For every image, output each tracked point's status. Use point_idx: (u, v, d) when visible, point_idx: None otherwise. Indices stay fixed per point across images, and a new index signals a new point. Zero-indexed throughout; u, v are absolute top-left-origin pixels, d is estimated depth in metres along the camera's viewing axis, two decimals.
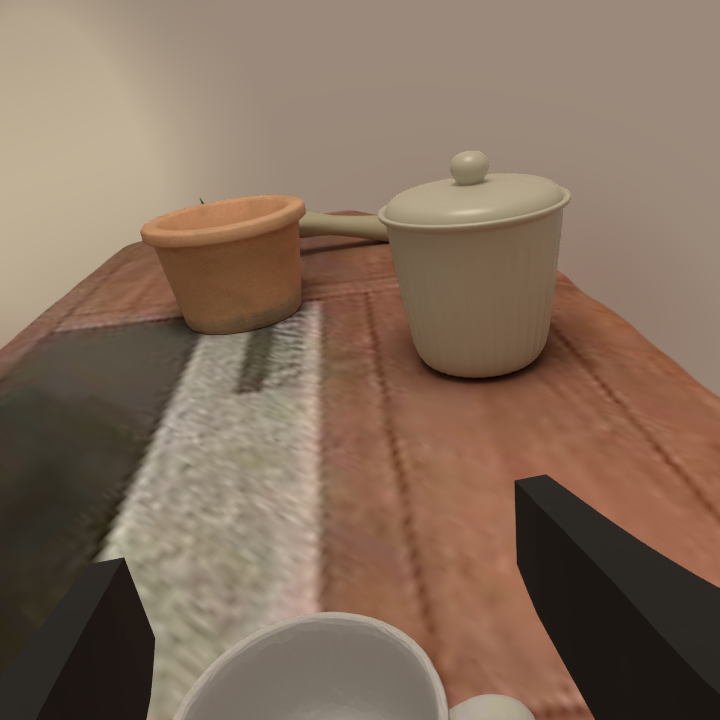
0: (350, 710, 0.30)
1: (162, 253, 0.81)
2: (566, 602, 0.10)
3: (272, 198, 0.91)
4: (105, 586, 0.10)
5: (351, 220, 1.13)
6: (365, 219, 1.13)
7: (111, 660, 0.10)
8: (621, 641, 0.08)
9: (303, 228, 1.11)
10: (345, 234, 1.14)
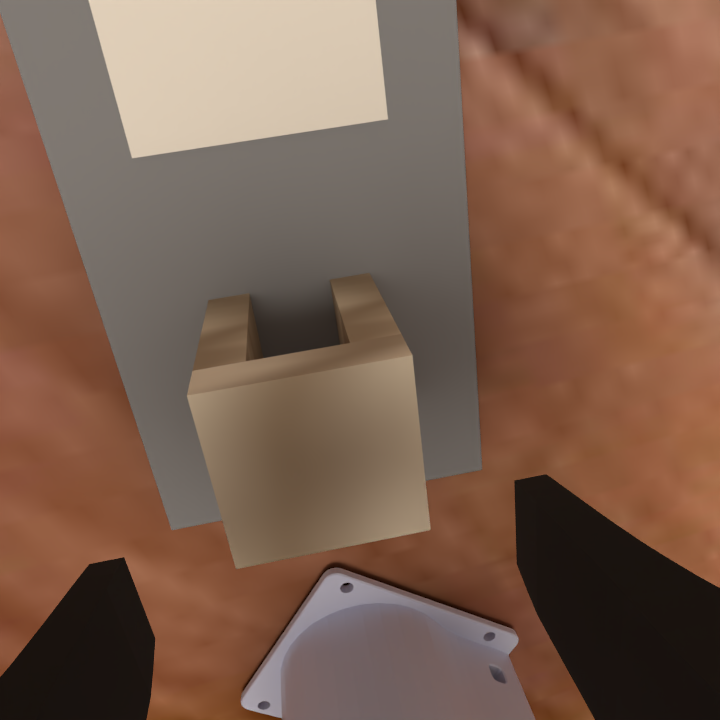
0: None
1: None
2: (566, 602, 0.10)
3: None
4: (105, 586, 0.10)
5: None
6: None
7: (111, 660, 0.10)
8: (621, 641, 0.08)
9: None
10: None
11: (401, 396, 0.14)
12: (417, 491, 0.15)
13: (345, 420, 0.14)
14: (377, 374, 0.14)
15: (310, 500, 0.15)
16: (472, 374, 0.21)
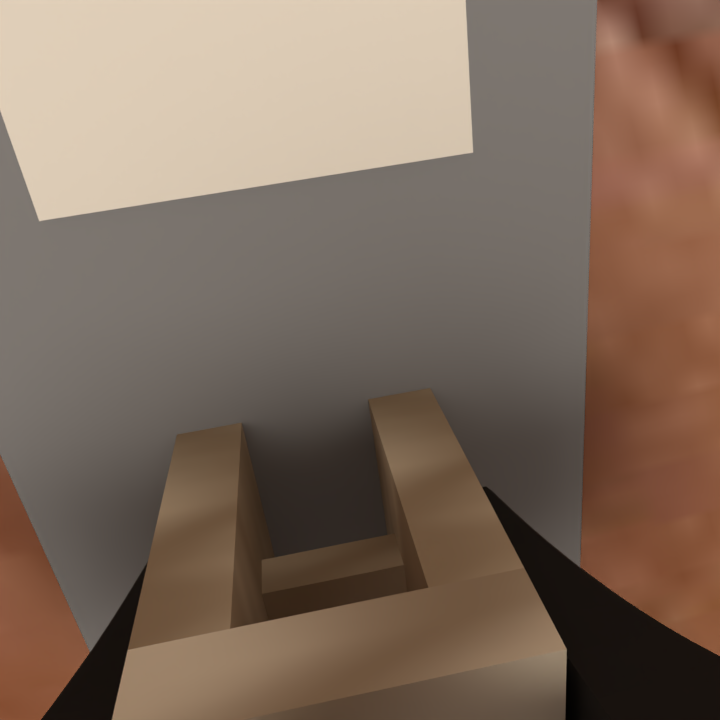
0: None
1: None
2: None
3: None
4: None
5: None
6: None
7: None
8: None
9: None
10: None
11: (536, 715, 0.07)
12: None
13: None
14: (493, 685, 0.07)
15: None
16: (575, 523, 0.14)
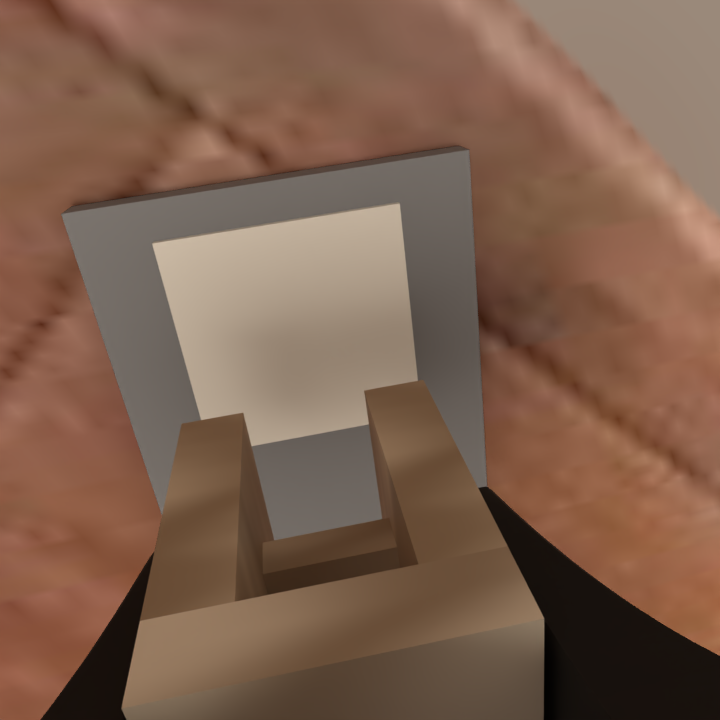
0: None
1: None
2: None
3: None
4: None
5: None
6: None
7: None
8: None
9: None
10: None
11: (517, 680, 0.08)
12: None
13: None
14: (477, 652, 0.07)
15: None
16: None
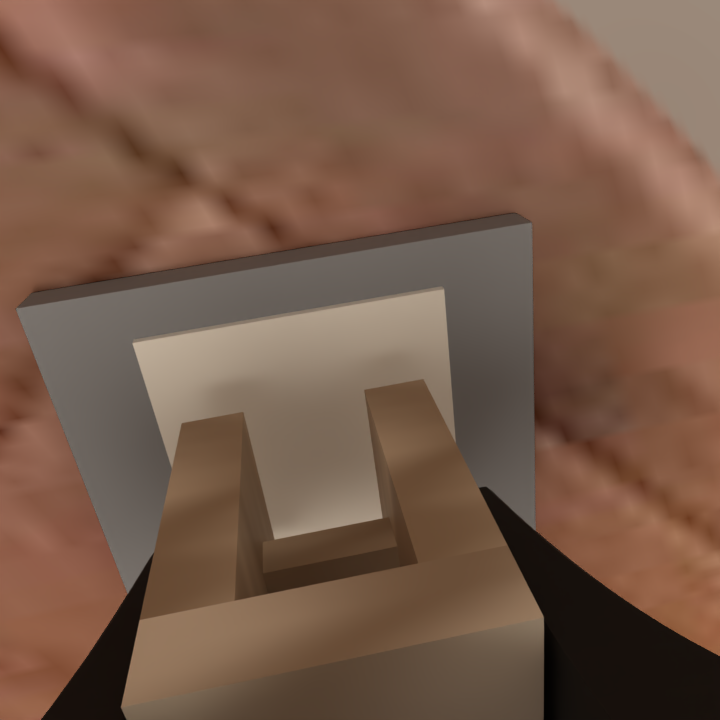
0: None
1: None
2: None
3: None
4: None
5: None
6: None
7: None
8: None
9: None
10: None
11: (517, 679, 0.08)
12: None
13: (414, 719, 0.08)
14: (477, 651, 0.07)
15: None
16: None
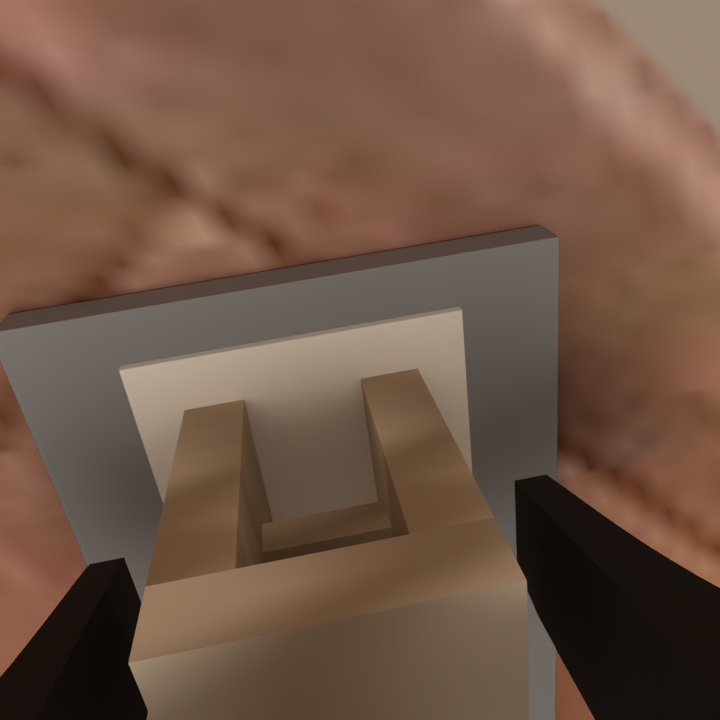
0: None
1: None
2: (565, 602, 0.10)
3: None
4: (105, 586, 0.10)
5: None
6: None
7: (111, 660, 0.10)
8: (621, 641, 0.08)
9: None
10: None
11: (501, 642, 0.08)
12: None
13: (405, 680, 0.08)
14: (464, 613, 0.08)
15: None
16: None
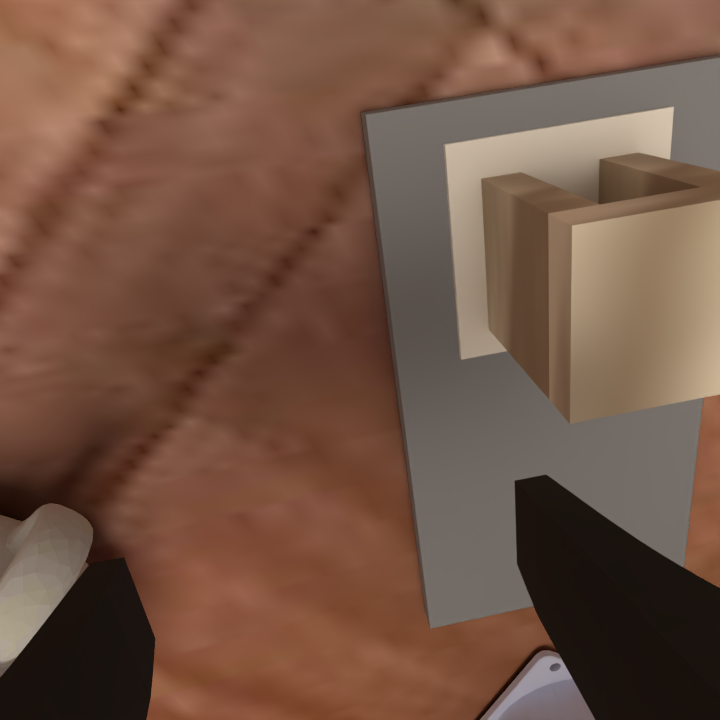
0: None
1: None
2: (565, 602, 0.10)
3: None
4: (105, 586, 0.10)
5: None
6: None
7: (111, 660, 0.10)
8: (621, 641, 0.08)
9: None
10: None
11: None
12: None
13: (711, 259, 0.14)
14: None
15: (656, 349, 0.15)
16: (688, 501, 0.25)
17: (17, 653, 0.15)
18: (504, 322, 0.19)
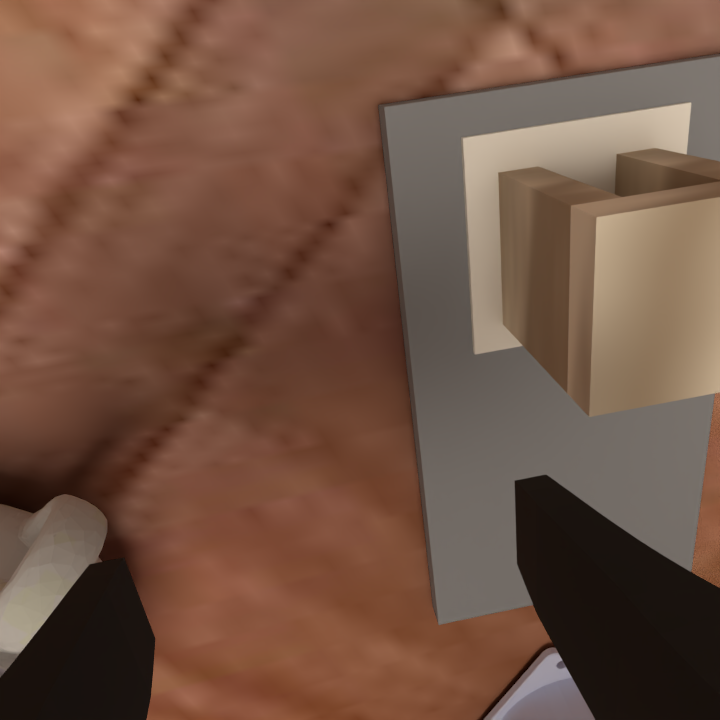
0: None
1: None
2: (566, 602, 0.10)
3: None
4: (105, 586, 0.10)
5: None
6: None
7: (111, 660, 0.10)
8: (621, 641, 0.08)
9: None
10: None
11: None
12: None
13: None
14: None
15: (676, 343, 0.15)
16: (697, 499, 0.25)
17: None
18: (520, 316, 0.19)
